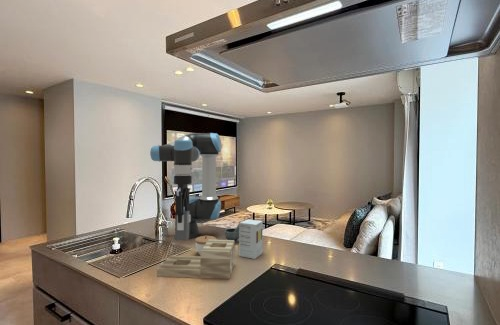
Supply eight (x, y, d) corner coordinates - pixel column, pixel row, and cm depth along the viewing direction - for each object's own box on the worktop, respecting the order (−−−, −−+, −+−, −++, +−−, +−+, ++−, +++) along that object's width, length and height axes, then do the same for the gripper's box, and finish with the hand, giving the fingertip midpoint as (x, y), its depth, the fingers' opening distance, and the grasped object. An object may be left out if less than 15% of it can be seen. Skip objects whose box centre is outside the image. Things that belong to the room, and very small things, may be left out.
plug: (178, 237, 114) (178, 206, 114) (190, 237, 114) (191, 206, 114) (174, 240, 110) (175, 207, 110) (188, 240, 110) (188, 207, 110)
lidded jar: (191, 257, 126) (191, 238, 126) (199, 249, 137) (199, 232, 137) (212, 258, 125) (212, 239, 124) (218, 251, 135) (219, 233, 135)
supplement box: (255, 259, 124) (255, 224, 124) (238, 256, 128) (238, 222, 128) (262, 253, 133) (263, 220, 133) (246, 250, 137) (247, 218, 137)
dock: (170, 261, 120) (170, 238, 120) (234, 264, 118) (234, 240, 118) (157, 276, 105) (157, 249, 105) (229, 278, 103) (229, 251, 103)
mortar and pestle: (222, 244, 147) (222, 223, 147) (227, 239, 156) (227, 219, 156) (241, 245, 144) (241, 224, 144) (245, 240, 153) (245, 220, 153)
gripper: (185, 176, 103) (184, 234, 103) (196, 174, 120) (196, 224, 120) (167, 175, 104) (166, 233, 103) (180, 174, 121) (180, 223, 121)
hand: (182, 228), depth 112 cm, fingers closed on plug, 4 cm apart
